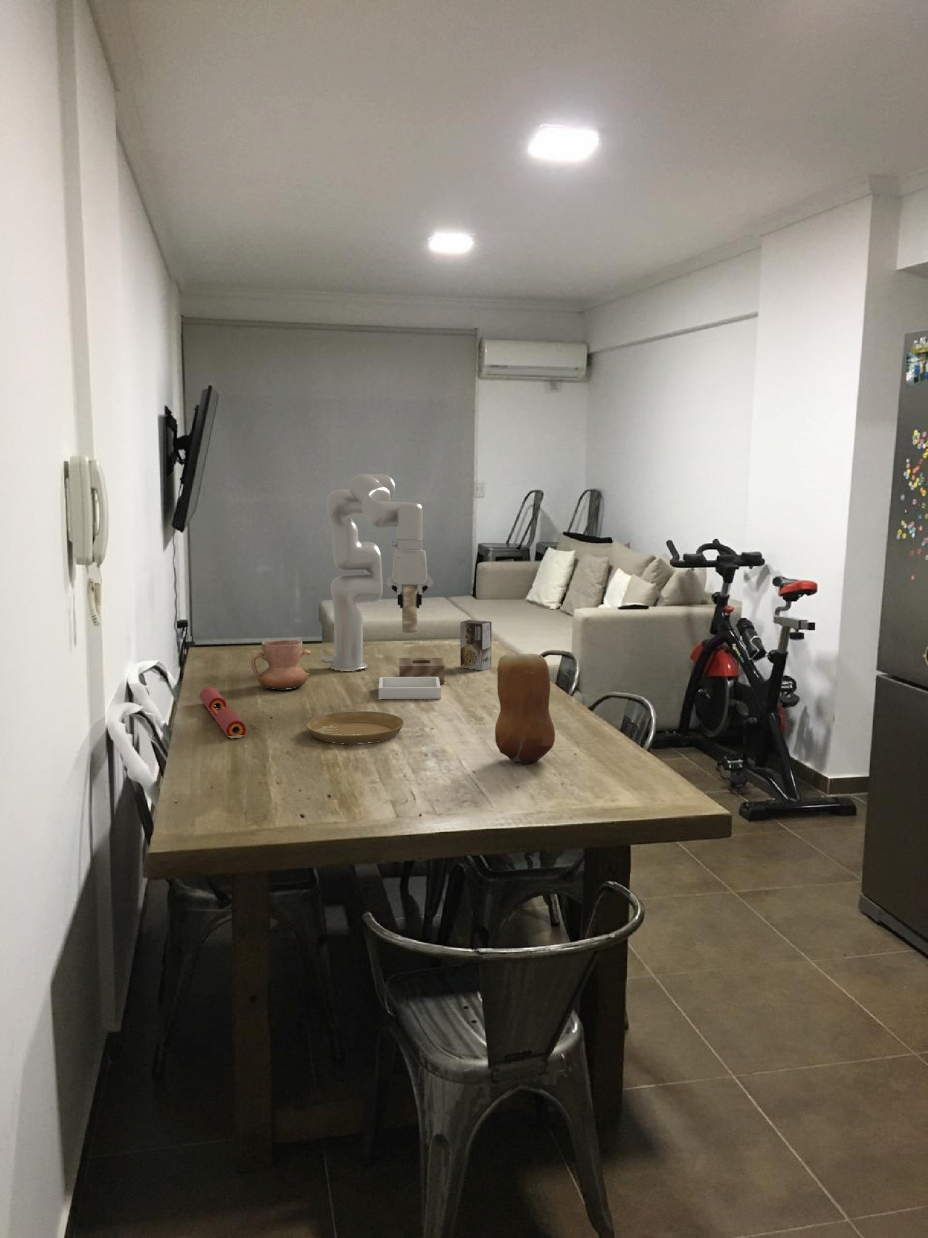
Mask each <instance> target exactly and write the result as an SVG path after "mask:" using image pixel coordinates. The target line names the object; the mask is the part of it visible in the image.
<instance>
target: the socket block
mask: <svg viewBox="0 0 928 1238" xmlns="http://www.w3.org/2000/svg"><path fill="white" fill-rule="evenodd" d="M398 661H399V664H398V665H399V666H398V667H399V670H398V671H399V672H398V673H399V675H398V677H439V681H440V684H444V685H445V663H444V659H443V657H399V659H398Z"/></svg>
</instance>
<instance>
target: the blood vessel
mask: <svg viewBox="0 0 928 1238" xmlns="http://www.w3.org/2000/svg"><path fill="white" fill-rule="evenodd" d="M199 698H200V700H202V701H201V702H202V704H203V703H204V704H205V705H204V704H203V705H204V707H205V708H206V707H207V708H206V710H208V712H209V711H210V712H209V713H210V715H211V714H212V715H211V716H212V718H213V719H214V718H215V719H214V720H215V722H216V723H217V724H218V726H219V725H220V726H219V727H220V728H221V729H222V731H223V733H224V735H226V736H227V737H228V736H236V735H244V736H245V735H246V733H247V726H246V724H245V723H244V721H243V720H242V719H241V718H240V716H239V715H238V714H237V712H235V710H234V709H232V708H231V707H228V705H227V701H226V700H225V698H224V697H223V696H222V695H221V694H220V693H219V692H218V690H217V689H216V688H214V687H211V686H208V687H205V688H203V689H202V690H201V691H200V694H199ZM214 705H216V707H215V706H214ZM216 708H218V709H216Z"/></svg>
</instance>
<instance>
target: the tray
mask: <svg viewBox="0 0 928 1238" xmlns="http://www.w3.org/2000/svg"><path fill="white" fill-rule="evenodd" d="M378 681H379V682H378V700H379V699H424V701H425V699H429V700H430V699H442V687H441V685H440V681H439V677H399V676H380V677H379V680H378ZM429 700H428V701H429Z"/></svg>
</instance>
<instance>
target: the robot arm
mask: <svg viewBox="0 0 928 1238" xmlns="http://www.w3.org/2000/svg"><path fill="white" fill-rule="evenodd" d="M395 485H396V484H395V481H394V480H393V479H392V477H391V476H390V475H388V474H383V473H382V474H381V473H379V474H378V473H375V474H374V473H363V474H362V473H361V474H357V475H355V476H353V477H352V478H351V480H350V482H349V484H348V489H347V488H345V489H343V488H342V489H336V490H334V491H331V492H330V493H329V494H328V496H327V499H326V513H327V516H328V521H329V523H330V526H331V532H332V553H333V563H334V567H336V569H337V570H339V571H344V572H355V571H359V572H360V571H364V574H344V575H339V576H336V577H334V579H333V580H332V581H331V583H330V593H331V599H332V605H333V606H332V607H333V632H334V633H333V637H334V640H333V642H334V648H333V649H334V654H333V655H331V656H321V657H320V659H321V660H320V661H321V662H320V663H324V664H329V668H330V667H331V668H336V669H342V670H355V669H362V668H367V666H368V663H365V662H364V648H363V647H364V641H363V639H364V637H363V636H364V635H363V634H364V633H363V632H364V629H363V628H364V627H363V624H364V623H363V620H364V618H363V614H362V612H361V611H360V609H359V608H358V606H357V605H356V604H364V603H375V602H378V601H380V600H381V599H382V597H383V591H384V589H383V587H384V586H383V585H384V584H383V566H382V565H383V564H382V553H381V551H380V547H378V545H377V544H376V543H375V542H371V541H360V540H359V529H358V526H357V525H356V522H355V521H354V520H353V519H352V518H351V516H363V518H364V519H365V521H366V522H367V523H369V524H370V525H371V526H374V527H375V528H396V540H394V541H391V547H395V548H396V549H395V550H394V552H393V555H392V556H393V557H392V569H391V571H392V573H391V574H390V576H389V577H388V578H387V579H386V581H385V585H386V586H387V587H388V588H390V589H392V590H393V591H394V592H395V594H397V606H399V609H402V585H417V609H420V606H422V605H423V604H422V603H423V602H422V601H423V599H422V598H423V594H424V593H425V592H426V591H427V590H428V589H429V588H431V587H432V586H433V585H434V584H435V583H434V581H433V579H432V578H431V576H430V575H429V574H428V566H427V565H428V562H427V554H426V550H425V549H424V550H423V545H424V544H423V542H424V541H423V531H424V530H423V529H424V528H423V526H424V525H423V522H424V520H423V515H424V514H423V513H424V512H423V506H422V504H420V503H417V502H410V501H409V502H408V501H392V500H393V498H394V495H395V492H396V486H395ZM396 585H397V586H396ZM422 585H423V586H422ZM367 669H368V668H367Z"/></svg>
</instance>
